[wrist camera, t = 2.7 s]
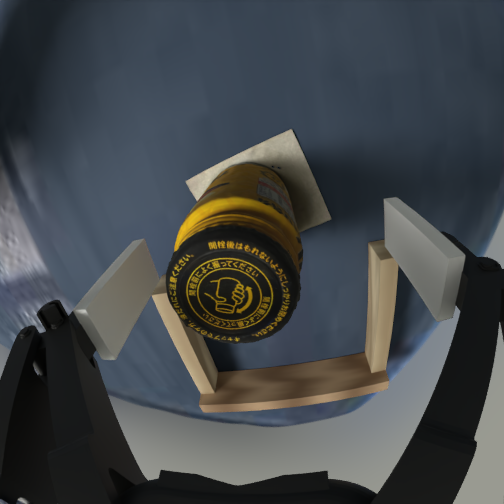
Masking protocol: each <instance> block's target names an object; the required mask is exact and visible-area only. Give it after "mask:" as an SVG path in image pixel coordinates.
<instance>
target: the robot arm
mask: <svg viewBox="0 0 504 504" xmlns="http://www.w3.org/2000/svg"><path fill="white" fill-rule="evenodd" d="M384 223H385V247H386V249H387V250H388V251H389V253H390V254H391V255H392V257H393V258H394V259H395V261H396V262H397V263H398V265H399V266H400V268H401V269H402V270H403V272H404V273H405V275H406V276H407V278H408V279H409V280H410V282H411V283H412V285H413V286H414V288H415V289H416V291H417V292H418V294H419V295H420V297H421V298H422V300H423V301H424V303H425V304H426V306H427V307H428V309H429V310H430V312H431V314H432V315H433V317H434V318H435V320H436V321H437V322H440V321H443V320H447V319H450V318H453V314H454V311H455V306H457V307H458V309H459V310H460V311H461V312H460V316H459V320H458V323H457V327H456V330H455V333H454V337H453V340H452V343H451V346H450V349H449V352H448V355H447V358H446V361H445V364H444V367H443V369H442V372H441V375H440V377H439V380H438V382H437V385H436V387H435V390H434V392H433V394H432V397H431V399H430V401H429V404H428V406H427V408H426V410H425V412H424V414H423V417H422V419H421V421H420V423H419V425H418V427H417V429H416V431H415V433H414V434H413V436H412V438H411V440H410V442H409V444H408V446H407V447H406V449H405V451H404V453H403V455H402V456H401V458H400V460H399V461H398V463H397V465H396V466H395V468H394V469H393V471H392V473H391V474H390V476H389V478H388V479H387V480H386V482H385V483H384V485H383V486H382V488H381V490H380V491H379V492H378V494H376V493H375V492H373V491H371V490H369V489H368V488H366V487H363V486H361V485H358V484H355V483H351V482H348V481H342V480H336V479H328V472H327V471H321V472H313V473H304V474H292V475H282V476H279V477H275V478H271V479H267V480H263V481H259V482H255V483H251V484H245V485H239V486H237V485H231V484H227V483H224V482H221V481H217V480H213V479H211V478H207V477H204V476H201V475H198V474H190V473H181V472H172V471H165V470H161V471H160V475H159V479H154V480H149V481H148V480H147V479H146V478H145V476H144V475H143V473H142V472H141V470H140V468H139V466H138V464H137V462H136V460H135V458H134V456H133V454H132V452H131V450H130V448H129V445H128V443H127V441H126V439H125V437H124V435H123V432H122V430H121V427H120V425H119V422H118V420H117V418H116V415H115V413H114V410H113V407H112V405H111V402H110V399H109V397H108V394H107V391H106V388H105V385H104V383H103V380H102V377H101V373H100V370H99V367H98V364H97V361H96V360H95V358H94V357H93V354H94V352H95V351H96V350H97V352H98V353H99V355H100V356H101V358H102V359H103V360H116V358H117V356H118V354H119V352H120V350H121V349H122V347H123V345H124V343H125V341H126V339H127V337H128V336H129V334H130V332H131V330H132V328H133V326H134V325H135V323H136V321H137V319H138V317H139V316H140V314H141V312H142V310H143V308H144V307H145V305H146V303H147V301H148V300H149V298H150V296H151V294H152V293H153V291H154V289H155V288H156V286H157V284H158V283H159V281H160V279H159V276H158V274H157V271H156V269H155V266H154V263H153V261H152V258H151V255H150V253H149V250H148V247H147V244H146V242H145V239H140V240H135V241H133V242H132V243H131V244H130V245H129V246H128V247H127V248H126V249H125V250H124V251H123V252H122V253H121V255H120V256H119V257H118V258H117V259H116V260H115V261H114V262H113V263H112V265H111V266H110V267H109V268H108V269H107V270H106V271H105V272H104V274H103V275H102V276H101V277H100V278H99V279H98V280H97V282H96V283H95V284H94V285H93V286H92V287H91V289H90V290H89V291H88V292H87V293H86V295H85V296H84V297H83V298H82V299H81V301H80V302H79V303H78V304H77V306H76V307H75V308H74V309H73V311H72V312H71V314H70V315H69V316H68V315H67V313H66V311H65V309H64V308H63V306H62V304H61V302H60V300H53V301H51V302H48V303H47V304H45V305H44V306H43V307H42V308H40V310H39V311H38V313H37V316H38V318H39V320H40V321H41V323H42V325H43V326H44V328H45V329H46V332H43V333H39V332H38V330H37V329H36V327H35V326H33V325H31V326H28V327H25V328H23V329H22V330H21V331H20V333H19V334H18V335H17V337H16V339H15V342H14V344H13V346H12V349H11V351H10V354H9V357H8V359H7V362H6V365H5V368H4V371H3V373H2V376H1V379H0V504H453V502H454V500H455V498H456V496H457V494H458V492H459V490H460V488H461V485H462V483H463V481H464V479H465V476H466V474H467V472H468V469H469V467H470V465H471V462H472V459H473V457H474V454H475V451H476V447H477V442H476V441H475V440H474V436H475V433H476V430H477V427H478V424H479V421H480V418H481V414H482V411H483V407H484V403H485V400H486V396H487V392H488V387H489V383H490V378H491V373H492V368H493V363H494V357H495V351H496V345H497V337H498V329H499V322H500V323H501V328H502V334H503V340H504V269H502V268H501V266H500V264H499V263H498V262H497V261H495V260H493V259H490V258H488V257H476V256H475V255H474V254H473V253H472V252H471V251H469V250H468V249H467V248H466V247H465V246H463V244H462V243H460V242H458V240H457V239H456V238H455V237H453V236H452V235H450V234H448V233H446V232H439V231H438V230H437V229H436V228H435V227H433V226H432V225H431V224H430V223H429V222H427V221H426V220H425V219H424V218H422V217H421V216H420V215H419V214H418V213H416V212H415V211H414V210H413V209H411V208H410V207H409V206H407V205H406V204H405V203H404V202H402V201H401V200H400V199H398V198H397V197H394V198H386V199H384ZM34 367H35V369H36V370H37V371H38V373H39V375H37V373H36V372H35V370H34Z"/></svg>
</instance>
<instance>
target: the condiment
mask: <svg viewBox="0 0 504 504" xmlns="http://www.w3.org/2000/svg"><path fill="white" fill-rule="evenodd" d="M271 166H274V168H272V167H271ZM277 167H280V168H281V169H278V168H277ZM186 183H187V185H188V187H189V188H190V190H191V192H192V194H193V195H194V197H195V199H196V200H197V203H196V204H195V206H194V207H193V208H192V209H191V211H190V213H189V214H188V215H187V217H186V219H185V221H184V222H183V224H182V226H181V227H180V229H179V232H178V235H177V239H176V243H175V250H174V253H173V256H172V258H171V261H170V262H169V266H168V269H167V272H166V283H165V284H166V291H167V296H168V299H169V302H170V304H171V306H172V308H173V309H174V311H175V312H176V313H177V315H178V316H179V318H180V319H181V320H182V321H183V322H184V324H185V326H186V327H190V328H192V329H193V330H194V331H195V332H197V333H198V334H200V335H202V336H204V337H207V338H210V339H213V340H217V341H220V342H223V343H234V344H237V343H249V342H255V341H259V340H261V339H264V338H267V337H270V336H272V335H273V334H275V333H276V332H278V331H279V330H281V329H282V328H283V327H284V326H285V325H286V324H287V323H288V321H289V320H290V318H291V316H292V314H293V311H294V310H295V309H296V306H297V302H298V301H299V300H300V290H301V286H300V275H299V274H300V271H301V268H302V261H303V248H302V244H301V238H300V234H299V233H300V232H302V231H304V230H306V229H309V228H311V227H314V226H317V225H320V224H322V223H324V222H326V221H329V220H331V217H330V214H329V212H328V210H327V207H326V205H325V202H324V200H323V197H322V195H321V193H320V190H319V188H318V186H317V184H316V181H315V179H314V177H313V174H312V172H311V170H310V168H309V165H308V163H307V161H306V159H305V156H304V154H303V152H302V150H301V148H300V146H299V144H298V141H297V139H296V137H295V135H294V133H293V131H292V129H291V130H289V131H286V132H284V133H282V134H280V135H277V136H275V137H273V138H271V139H269V140H267V141H264V142H262V143H260V144H258V145H256V146H254V147H252V148H249V149H247V150H245V151H243V152H241V153H239V154H237V155H235V156H233V157H231V158H229V159H227V160H225V161H223V162H221V163H219V164H217V165H215V166H213V167H211V168H209V169H207V170H206V171H204V172H202V173H200V174H198V175H196V176H194V177H193V178H191V179H189V180H187V181H186Z"/></svg>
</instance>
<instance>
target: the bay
mask: <svg viewBox="0 0 504 504" xmlns="http://www.w3.org/2000/svg"><path fill="white" fill-rule="evenodd" d="M368 250H369V281H368V313H367V331H366V345H365V352H363V353H359V354H354V355H349V356H343V357H338V358H332V359H327V360H321V361H314V362H308V363H301V364H294V365H287V366H279V367H270V368H261V369H251V370H239V371H226V372H218V371H217V368H216V366H215V364H214V362H213V359H212V357H211V355H210V352H209V350H208V348H207V345H206V343H205V341H204V338H203V336H202V335H200V334H198V333H197V332H195V331H194V330H193V329H192V328H190V327H186V326H185V324H184V322H183V321H182V320H181V319H180V318H179V316H178V315H177V313H176V312H175V311H174V309H173V308H172V306H171V304H170V302H169V299H168V296H167V291H166V284H165V283H166V275H162V277H161V279H160V281H159V283H158V284H157V286H156V288H155V289H154V291H153V293H152V297H153V300H154V302H155V304H156V306H157V308H158V311H159V313H160V315H161V317H162V319H163V321H164V323H165V326H166V328H167V330H168V332H169V334H170V336H171V338H172V340H173V342H174V344H175V346H176V348H177V350H178V352H179V354H180V356H181V358H182V360H183V362H184V363H185V365H186V367H187V369H188V371H189V373H190V375H191V376H192V378H193V380H194V382H195V384H196V386H197V387H198V389H199V391H200V393H201V397H200V402H199V406H200V408H201V409H202V411H203V412H237V411H254V410H267V409H278V408H287V407H296V406H303V405H311V404H317V403H324V402H330V401H335V400H341V399H346V398H351V397H356V396H361V395H365V394H370V393H374V392H378V391H383V390H386V389H387V388H388V385H389V378H388V376H387V373H386V364H387V359H388V353H389V347H390V340H391V333H392V326H393V318H394V310H395V301H396V290H397V278H398V263H397V262H396V261H395V259H394V258H393V257H392V255H391V254H390V253H389V251H388V250H387V249H386V247H385V240H380V241H374V242H368Z"/></svg>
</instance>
